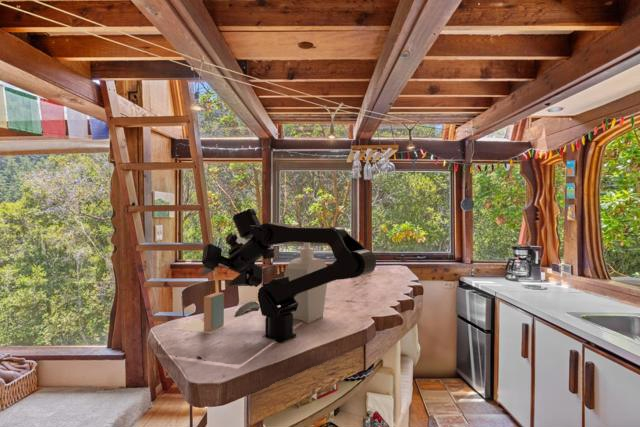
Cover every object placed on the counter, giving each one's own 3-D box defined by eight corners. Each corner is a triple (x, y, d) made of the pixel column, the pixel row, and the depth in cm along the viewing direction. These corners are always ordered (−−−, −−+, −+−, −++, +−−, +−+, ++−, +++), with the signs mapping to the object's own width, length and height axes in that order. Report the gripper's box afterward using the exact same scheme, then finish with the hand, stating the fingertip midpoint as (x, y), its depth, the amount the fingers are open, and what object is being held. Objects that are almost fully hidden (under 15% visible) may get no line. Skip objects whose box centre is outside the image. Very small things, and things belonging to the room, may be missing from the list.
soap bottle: (301, 311, 122) (302, 232, 122) (328, 315, 117) (328, 233, 117) (278, 320, 111) (279, 233, 112) (307, 325, 106) (307, 234, 107)
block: (224, 325, 104) (224, 292, 104) (211, 331, 98) (211, 297, 98) (216, 324, 104) (217, 292, 104) (203, 330, 99) (204, 296, 99)
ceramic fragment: (236, 320, 112) (236, 307, 112) (222, 318, 114) (222, 305, 114) (261, 310, 125) (261, 299, 125) (248, 309, 127) (248, 298, 127)
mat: (229, 326, 105) (229, 324, 105) (210, 335, 96) (210, 333, 96) (193, 322, 109) (194, 320, 109) (172, 331, 100) (172, 328, 100)
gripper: (275, 243, 112) (243, 268, 118) (223, 216, 101) (191, 245, 108) (276, 274, 104) (242, 299, 111) (220, 247, 93) (185, 277, 100)
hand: (216, 279), depth 107 cm, fingers open, 9 cm apart
